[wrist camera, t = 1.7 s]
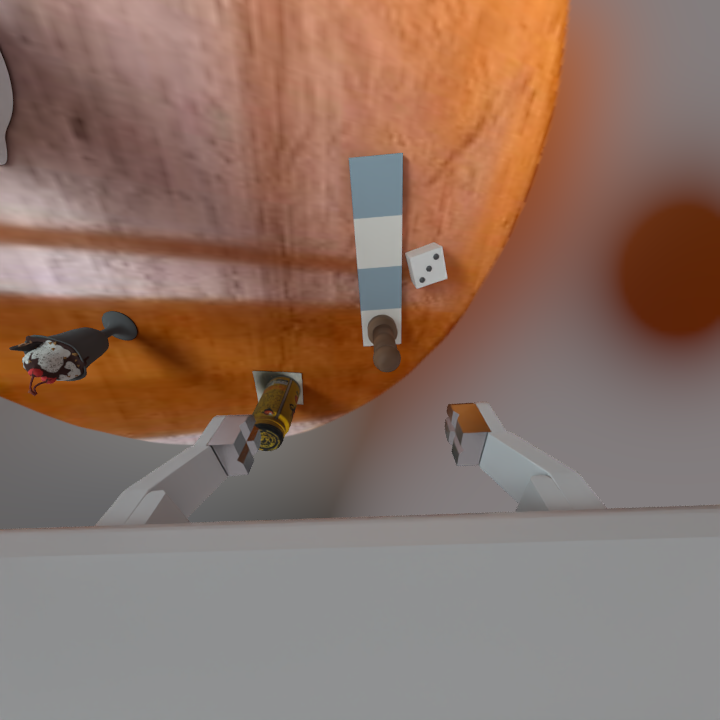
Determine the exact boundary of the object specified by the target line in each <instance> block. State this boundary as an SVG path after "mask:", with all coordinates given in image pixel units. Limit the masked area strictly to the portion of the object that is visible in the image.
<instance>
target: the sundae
mask: <svg viewBox="0 0 720 720" xmlns="http://www.w3.org/2000/svg"><path fill="white" fill-rule="evenodd" d="M102 322H103V326H104V327H105V329H104V330H102V331H99V330H96V329H92V328H86V327H84V328H79V329H74V330H70V331H67V332H64V333H61V334H57V335H53V336H49V337H46V336H41V335H32V336H27V337H26V341H25V343H22V344H19V345H17V346H13V347H10V350H17V351H24V353H25V356H24V357H23V360H22V362H23V366H24V368H25V369H26V371H27V372H28V374H29V375H30V376H32V378H31V382H30V391H28V393H31V394H33V395H34V396H35V395H36V394H37V392H36V390H35V388H36V387H37V386H38V385H40V384H43V383H48V384H51V383H54V382H55V381H56V380H58V381H75V380H80V379H82V378H84V377H85V376H86V375H87V372H86V368H87V367H88V366H89V365H90V364H91V363H92V362H94V361H95V360H96V359H97V358H99V357H100V356H101V355H102V354H103V353H104V352H105V351H106V350H107V349H108V347H109V343H108V337H110V336H112V335H113V336H114V337H116V338H119V339H122V340H132V339H134V338H135V337H136V335H137V329H136V326H135V324H134V323H133V322H132V320H131V319H129V318H128V317H127V316H125V315H123V314H121V313H119V312H114V311H110V312H106V313H105V314H104V315H103V317H102ZM34 377H41V380H42V381H43V382H41V383H38V384H37V385H36V386H34V388H33V389H34V391H33V390H32V388H31V386H32V382H33V379H34Z"/></svg>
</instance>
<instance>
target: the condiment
mask: <svg viewBox="0 0 720 720" xmlns="http://www.w3.org/2000/svg"><path fill="white" fill-rule="evenodd" d="M253 375H254V380H255V385H256V389H257V396H258V404H257V406H256V408H255V410H254V412H253V414H252V415H253V416H254V418H255V420H256V422H255V424H254V426H256V427H257V428H259V430H260V433H261V444H260V447H259V450H262V451H271V450H274V449H277V448H279V447H280V445H281V444H282V442H283V438H284V436H285V434H286V433H287V432H288V431H289V428H290V426H291V421H292V418H293V415H294V413H295V409H296V406H297V404H302V405H303V389H302V376H301V373H288V372H266V371H253Z"/></svg>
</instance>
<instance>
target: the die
mask: <svg viewBox="0 0 720 720" xmlns="http://www.w3.org/2000/svg"><path fill="white" fill-rule="evenodd" d="M405 255H406V260H407V264H408V268H409V272H410V276H411V280H412V282H413V284H414V285H415V287H416V288H417V289H418V288H421V287H424V286H427V285H430V284H433V283H436V282H439V281H442V280H445V279H447V273H446V267H445V261H444V255H443V249H442V246H440V245H438V244H437V243H435V242H433V243H431V244H428V245H425V246H422V247H420V248H417V249H414V250H411V251H409V252H406V253H405Z"/></svg>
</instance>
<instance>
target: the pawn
mask: <svg viewBox="0 0 720 720" xmlns="http://www.w3.org/2000/svg"><path fill="white" fill-rule="evenodd" d="M367 330H368V338H369V340H370V342H371V343H372V344H373V345H374V356H373V361H374V364H375V366H376V367H377V368H378V369H379V370H381V371H383V372H391V371H393V370H395V369H396V368H397V367H398V366H399V364H400V361H401V356H400V353H399V351H398V350H397V347H396V343H395V340H396V338H397V334H398V331H397V327H396V324H395V321H394V320H393V319H392V318H391V317H390V316H388V315H377V316H375V317H373V318H372V319H371V320H370V321H369V323H368V327H367Z"/></svg>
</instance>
